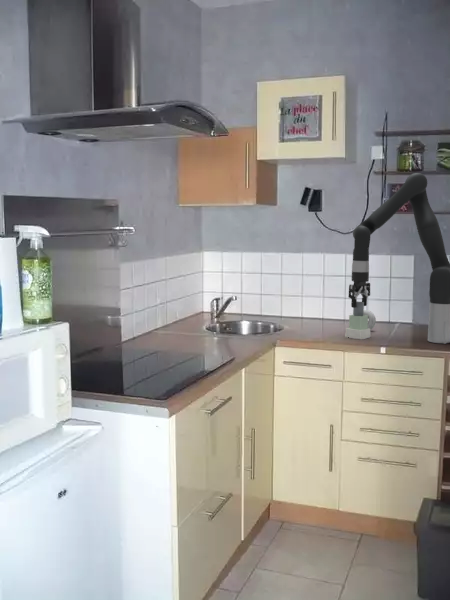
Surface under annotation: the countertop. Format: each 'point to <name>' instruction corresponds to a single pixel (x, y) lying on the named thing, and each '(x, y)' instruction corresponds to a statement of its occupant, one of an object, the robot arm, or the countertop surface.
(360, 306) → the charcoal cylinder
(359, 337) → the ceramic pedestal
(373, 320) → the donut
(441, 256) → the robot arm
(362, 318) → the sage cube
